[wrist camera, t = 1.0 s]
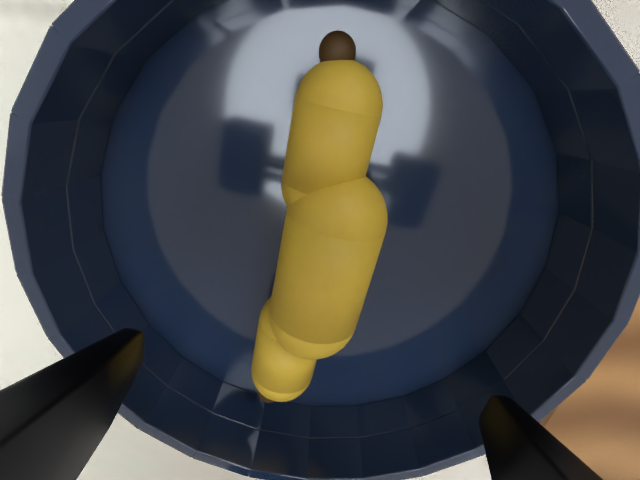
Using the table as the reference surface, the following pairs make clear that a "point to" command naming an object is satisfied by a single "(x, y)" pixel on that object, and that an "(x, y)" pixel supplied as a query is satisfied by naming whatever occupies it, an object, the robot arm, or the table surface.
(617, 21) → the table surface
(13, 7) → the table surface
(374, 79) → the banana
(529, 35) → the shallow blue dish
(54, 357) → the table surface
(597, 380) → the cutting board
